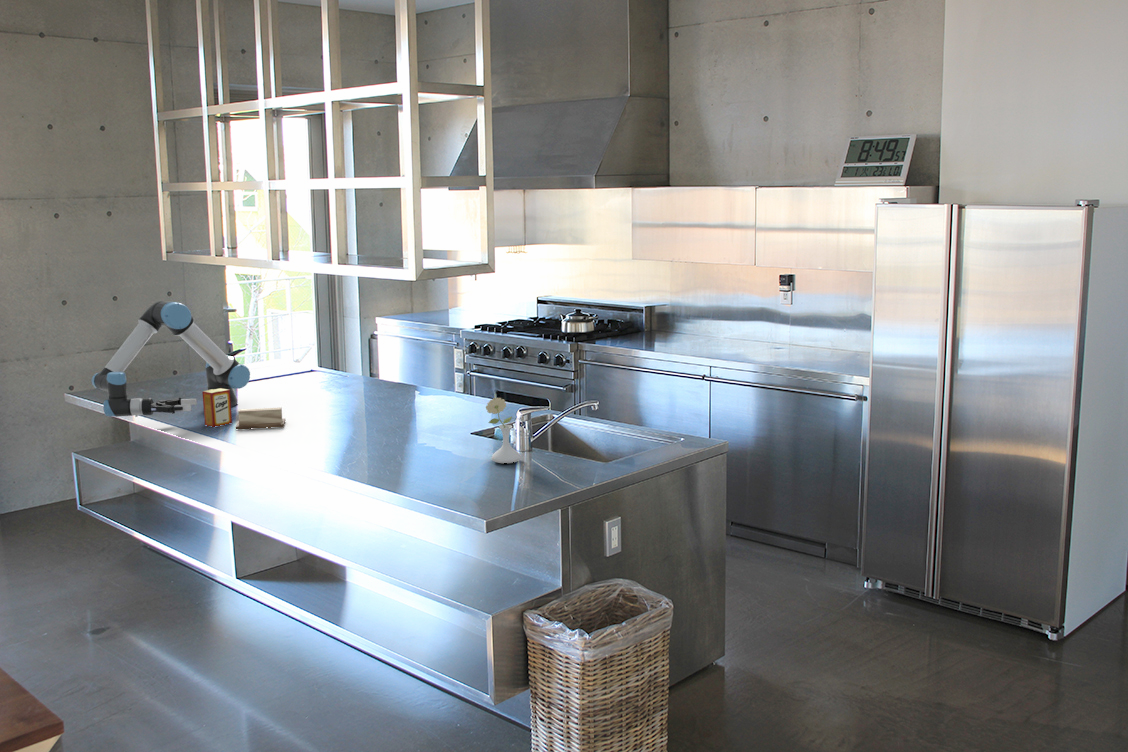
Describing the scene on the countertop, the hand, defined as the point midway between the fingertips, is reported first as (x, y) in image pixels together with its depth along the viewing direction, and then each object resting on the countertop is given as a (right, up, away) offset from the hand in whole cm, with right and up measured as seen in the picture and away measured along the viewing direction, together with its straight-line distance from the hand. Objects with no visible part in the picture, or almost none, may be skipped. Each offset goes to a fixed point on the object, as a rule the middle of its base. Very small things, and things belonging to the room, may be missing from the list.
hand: (193, 404), depth 418 cm
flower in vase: (+142, -20, -62) cm, 156 cm away
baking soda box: (+10, -9, +4) cm, 14 cm away
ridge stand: (+30, -9, +1) cm, 31 cm away
